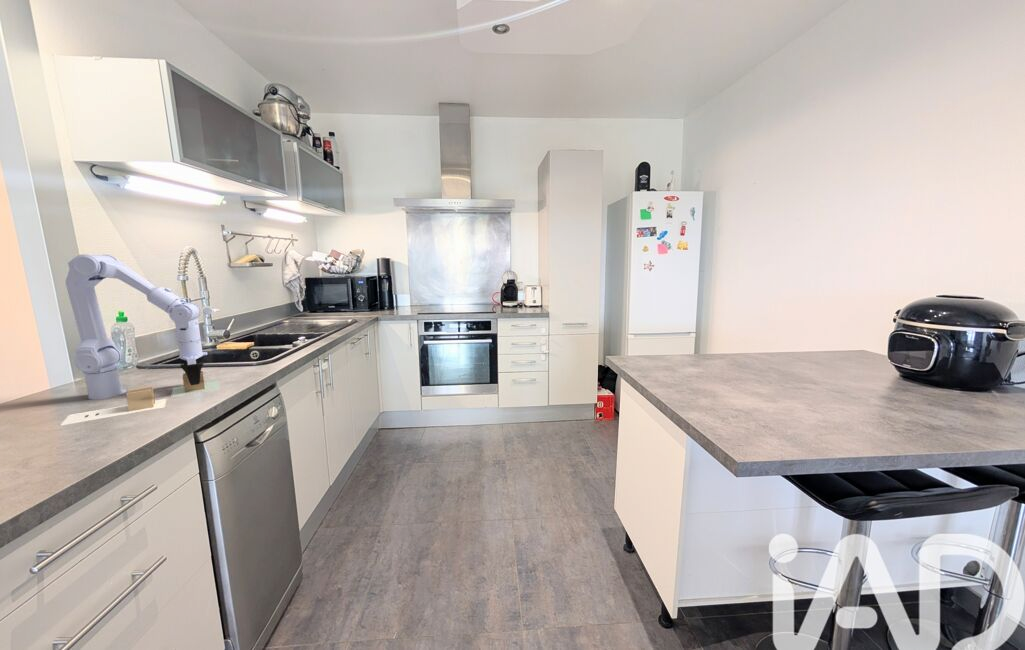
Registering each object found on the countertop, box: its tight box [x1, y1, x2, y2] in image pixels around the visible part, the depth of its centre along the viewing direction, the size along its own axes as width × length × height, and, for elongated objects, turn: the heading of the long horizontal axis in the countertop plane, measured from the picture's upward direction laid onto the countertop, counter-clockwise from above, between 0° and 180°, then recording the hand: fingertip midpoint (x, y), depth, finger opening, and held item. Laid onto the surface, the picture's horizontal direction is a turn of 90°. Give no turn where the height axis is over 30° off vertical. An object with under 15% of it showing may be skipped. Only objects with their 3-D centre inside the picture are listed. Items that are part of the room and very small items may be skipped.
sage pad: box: [170, 380, 221, 398], centre depth 127 cm, size 12×12×1 cm
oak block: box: [125, 385, 156, 411], centre depth 111 cm, size 5×5×5 cm
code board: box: [60, 398, 167, 427], centre depth 109 cm, size 9×20×1 cm, turn 128°
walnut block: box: [182, 370, 205, 392], centre depth 127 cm, size 5×5×5 cm
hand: (195, 381), depth 127 cm, fingers open, 7 cm apart
